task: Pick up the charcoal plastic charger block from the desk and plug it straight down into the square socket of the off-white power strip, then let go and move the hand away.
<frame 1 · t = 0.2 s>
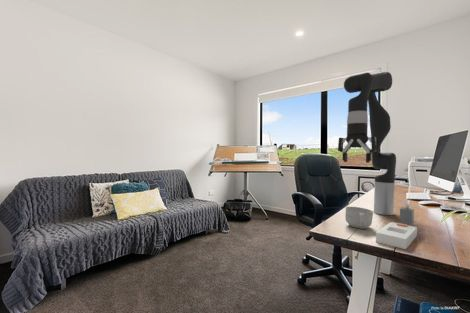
hand: (356, 162, 98), 29 cm above the table, tool pointing down, fingers open, 8 cm apart
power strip: (397, 238, 90), on the table
charger: (406, 229, 101), on the table
teacup: (358, 228, 103), on the table
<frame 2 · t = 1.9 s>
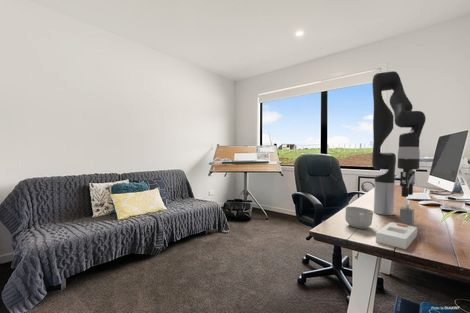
hand: (407, 195, 101), 15 cm above the table, tool pointing down, fingers open, 8 cm apart
nothing on the table moved.
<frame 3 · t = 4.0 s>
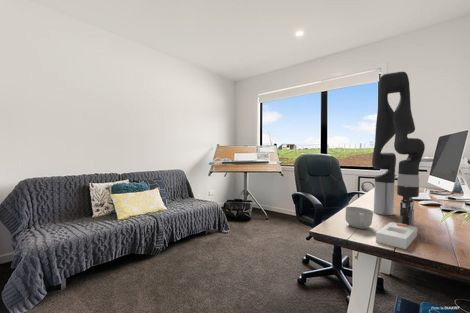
hand: (406, 224, 101), 2 cm above the table, tool pointing down, fingers closed on charger, 4 cm apart
charger: (406, 229, 101), on the table, touching gripper
everything else where it was.
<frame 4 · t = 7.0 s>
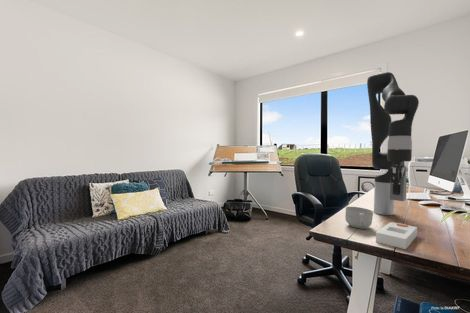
hand: (397, 193, 89), 17 cm above the table, tool pointing down, fingers closed on charger, 4 cm apart
charger: (397, 199, 89), point 15 cm above the table, touching gripper
everything else where it was.
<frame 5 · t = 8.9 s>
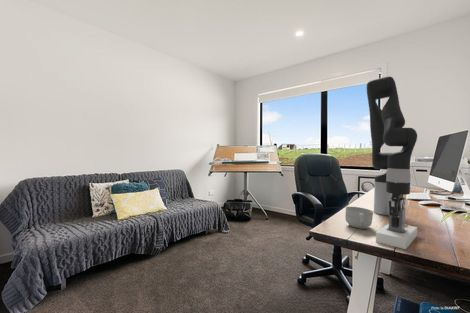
hand: (396, 225, 89), 5 cm above the table, tool pointing down, fingers closed on charger, 4 cm apart
charger: (396, 231, 89), point 3 cm above the table, touching gripper
everything else where it was.
when the fingers open (4 cm above the table, at t = 10.3 s): charger drops 1 cm, resting in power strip.
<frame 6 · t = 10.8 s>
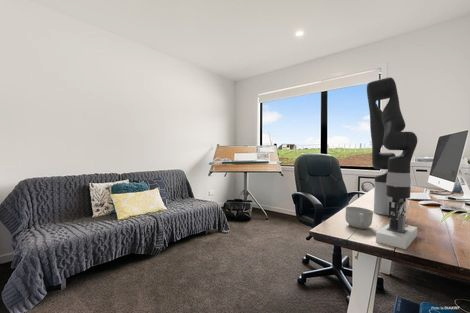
hand: (396, 227, 89), 5 cm above the table, tool pointing down, fingers open, 8 cm apart
charger: (396, 239, 89), resting in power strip
everything else where it was.
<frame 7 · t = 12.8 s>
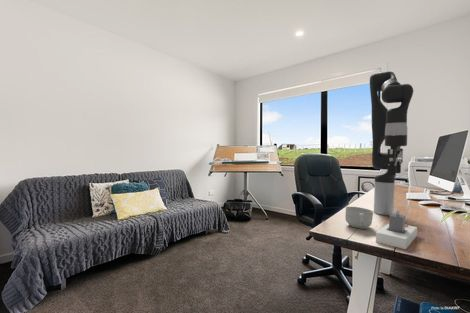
hand: (394, 174, 97), 24 cm above the table, tool pointing down, fingers open, 8 cm apart
nothing on the table moved.
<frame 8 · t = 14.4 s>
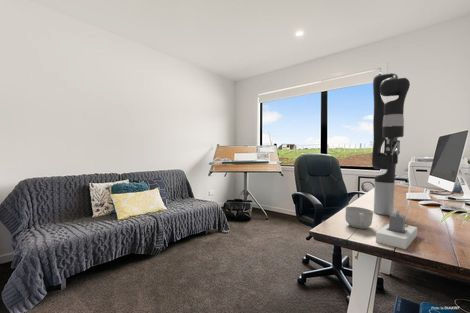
hand: (391, 164, 101), 28 cm above the table, tool pointing down, fingers open, 8 cm apart
nothing on the table moved.
at the end: charger 0.1 cm off-centre on the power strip, point 0.0 cm above the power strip's base; charger tilted 0°; the gripper is holding nothing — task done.
